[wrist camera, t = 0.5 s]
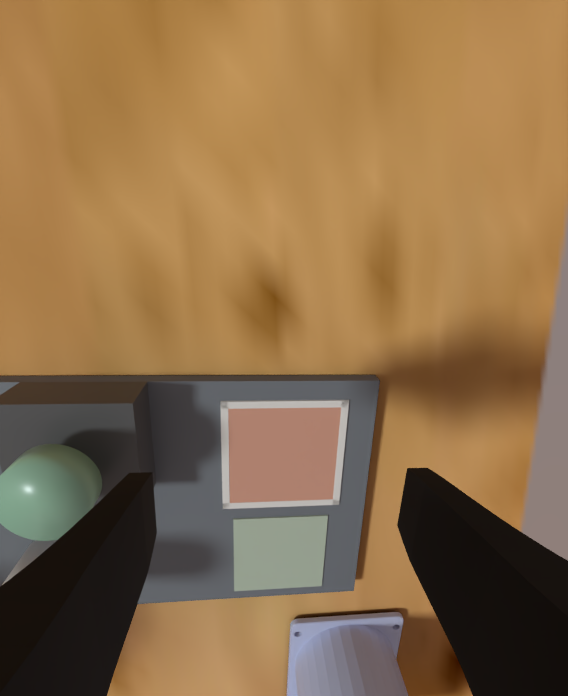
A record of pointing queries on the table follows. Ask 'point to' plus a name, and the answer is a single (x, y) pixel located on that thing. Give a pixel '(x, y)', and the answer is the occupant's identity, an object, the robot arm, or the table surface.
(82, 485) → the button
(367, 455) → the activity board
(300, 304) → the table surface
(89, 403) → the button housing
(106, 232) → the table surface
